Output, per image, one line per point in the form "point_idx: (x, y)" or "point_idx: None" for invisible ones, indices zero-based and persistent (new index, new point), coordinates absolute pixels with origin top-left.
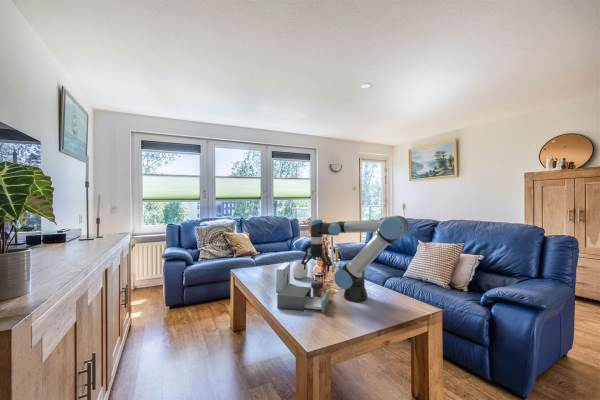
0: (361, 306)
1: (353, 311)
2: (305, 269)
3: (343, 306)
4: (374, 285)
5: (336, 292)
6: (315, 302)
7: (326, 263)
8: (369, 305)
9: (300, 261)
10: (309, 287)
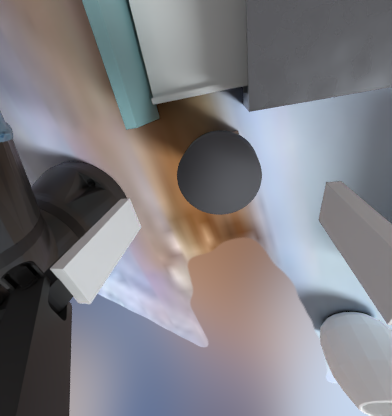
0: (22, 124)
1: (2, 44)
2: (386, 221)
3: (71, 89)
4: (101, 295)
5: (169, 228)
6: (183, 5)
7: (15, 319)
8: None
9: (382, 409)
10: (259, 102)
